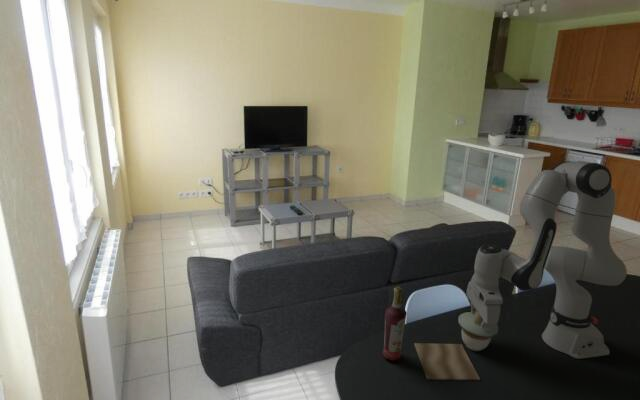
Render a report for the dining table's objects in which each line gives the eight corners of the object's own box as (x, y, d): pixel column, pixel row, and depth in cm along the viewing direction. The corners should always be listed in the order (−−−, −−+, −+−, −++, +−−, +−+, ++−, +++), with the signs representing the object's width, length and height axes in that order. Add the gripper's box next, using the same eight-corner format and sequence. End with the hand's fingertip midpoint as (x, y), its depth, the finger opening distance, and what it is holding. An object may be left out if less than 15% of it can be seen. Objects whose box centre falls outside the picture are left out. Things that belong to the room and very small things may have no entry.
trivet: (461, 345, 146) (461, 344, 146) (480, 380, 129) (480, 379, 129) (414, 344, 146) (414, 343, 146) (427, 379, 129) (427, 378, 128)
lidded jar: (491, 357, 140) (496, 335, 137) (461, 352, 142) (464, 331, 139) (485, 339, 150) (489, 318, 147) (457, 335, 152) (460, 314, 149)
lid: (488, 314, 150) (490, 303, 149) (504, 337, 137) (507, 325, 135) (452, 313, 150) (454, 302, 148) (466, 336, 137) (468, 324, 135)
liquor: (390, 366, 134) (397, 296, 126) (377, 354, 140) (383, 286, 132) (406, 358, 138) (413, 290, 130) (392, 347, 144) (398, 281, 136)
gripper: (465, 273, 149) (460, 304, 153) (487, 302, 129) (480, 337, 133) (481, 274, 149) (475, 304, 153) (505, 303, 129) (498, 337, 133)
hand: (478, 320), depth 143 cm, fingers open, 8 cm apart
